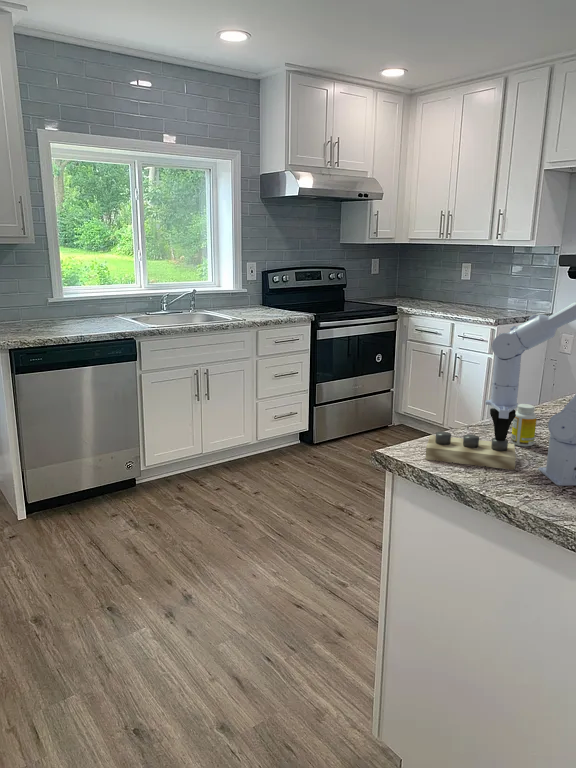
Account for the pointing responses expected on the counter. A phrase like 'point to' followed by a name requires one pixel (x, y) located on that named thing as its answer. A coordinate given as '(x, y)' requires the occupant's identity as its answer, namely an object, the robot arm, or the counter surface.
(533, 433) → the supplement bottle
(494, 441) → the knob near
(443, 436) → the knob far
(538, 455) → the counter surface
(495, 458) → the knob mount
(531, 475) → the counter surface
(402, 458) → the counter surface
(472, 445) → the knob middle
